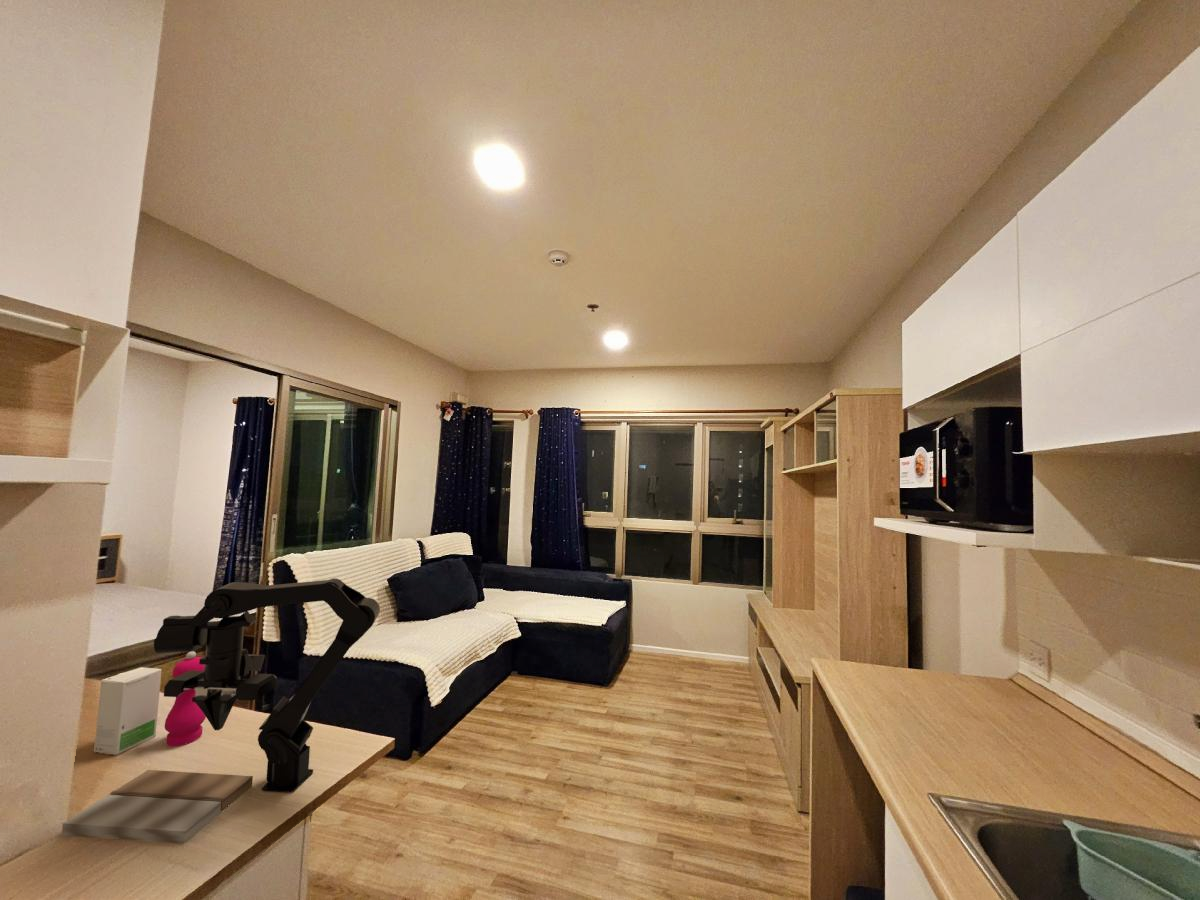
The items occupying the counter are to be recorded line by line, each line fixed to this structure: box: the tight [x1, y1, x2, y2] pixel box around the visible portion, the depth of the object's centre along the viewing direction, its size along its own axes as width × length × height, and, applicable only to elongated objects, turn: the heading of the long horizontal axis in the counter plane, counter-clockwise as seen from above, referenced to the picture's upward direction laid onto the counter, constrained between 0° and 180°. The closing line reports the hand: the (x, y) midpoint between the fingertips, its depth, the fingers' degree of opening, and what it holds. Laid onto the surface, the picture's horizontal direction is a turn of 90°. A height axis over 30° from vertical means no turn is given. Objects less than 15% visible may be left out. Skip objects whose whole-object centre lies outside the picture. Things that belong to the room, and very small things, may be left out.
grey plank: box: [61, 794, 222, 845], centre depth 82 cm, size 22×7×2 cm, turn 88°
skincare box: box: [93, 666, 162, 756], centre depth 105 cm, size 8×7×16 cm
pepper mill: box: [164, 651, 207, 747], centre depth 107 cm, size 7×7×20 cm
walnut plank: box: [109, 769, 254, 812], centre depth 89 cm, size 22×7×2 cm, turn 88°
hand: (218, 729), depth 91 cm, fingers closed
